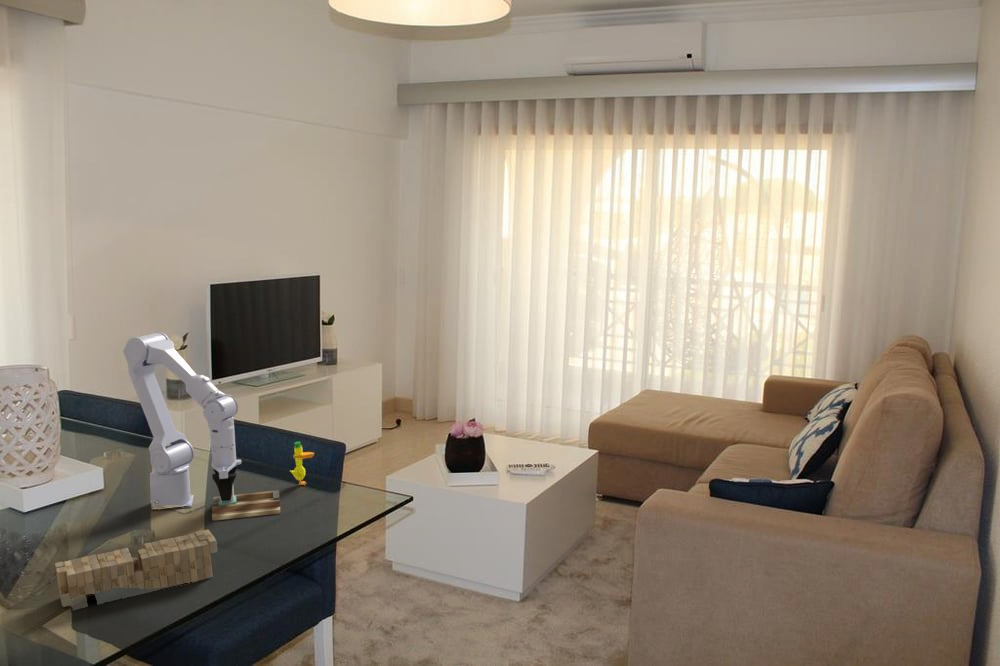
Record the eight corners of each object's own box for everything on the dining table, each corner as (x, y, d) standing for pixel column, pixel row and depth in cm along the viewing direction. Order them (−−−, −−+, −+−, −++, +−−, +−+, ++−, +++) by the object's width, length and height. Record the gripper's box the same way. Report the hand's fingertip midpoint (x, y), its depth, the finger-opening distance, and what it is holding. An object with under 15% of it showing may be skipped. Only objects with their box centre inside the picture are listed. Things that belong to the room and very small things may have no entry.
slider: (219, 510, 208) (217, 490, 207) (220, 503, 212) (218, 483, 212) (236, 508, 209) (234, 488, 208) (236, 501, 214) (235, 481, 213)
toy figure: (314, 481, 232) (312, 439, 230) (316, 485, 228) (314, 442, 227) (289, 483, 230) (287, 441, 228) (290, 488, 226) (288, 445, 224)
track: (212, 520, 204) (211, 509, 204) (214, 503, 215) (213, 493, 215) (280, 513, 208) (279, 502, 208) (279, 496, 220) (278, 486, 219)
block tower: (63, 619, 159) (221, 576, 174) (57, 577, 158) (217, 538, 173) (60, 602, 166) (211, 562, 181) (54, 562, 164) (207, 525, 179)
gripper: (239, 451, 202) (242, 505, 204) (240, 435, 216) (243, 486, 218) (208, 454, 200) (212, 508, 202) (211, 438, 214) (215, 489, 216)
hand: (226, 497), depth 210 cm, fingers open, 4 cm apart
